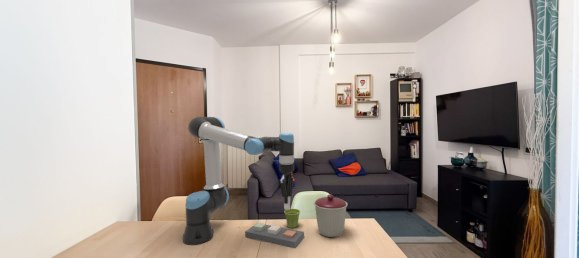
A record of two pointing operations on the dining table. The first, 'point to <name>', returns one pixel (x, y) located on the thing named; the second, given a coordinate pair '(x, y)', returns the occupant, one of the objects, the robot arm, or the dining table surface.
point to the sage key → (259, 227)
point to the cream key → (274, 229)
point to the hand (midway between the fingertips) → (287, 209)
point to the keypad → (275, 236)
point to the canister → (330, 215)
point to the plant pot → (292, 217)
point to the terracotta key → (289, 233)
